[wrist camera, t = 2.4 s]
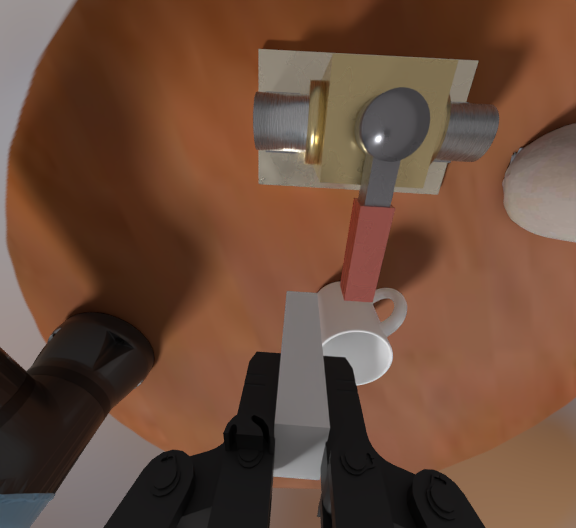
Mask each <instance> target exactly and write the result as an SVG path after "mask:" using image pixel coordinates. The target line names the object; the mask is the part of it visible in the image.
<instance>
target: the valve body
mask: <svg viewBox="0 0 576 528" xmlns="http://www.w3.org/2000/svg"><path fill="white" fill-rule="evenodd" d="M477 65H478V61H477V60H458V59H439V58H421V57H402V56H383V55H364V54H345V53H326V52H307V51H288V50H269V49H259V92H256V94H255V98H254V110H253V128H254V141H255V147H256V149H257V150H259V184H267V185H284V186H301V187H318V188H335V189H352V190H360V185H361V179H362V174H363V168H364V162H365V156H366V154H365V153H364V152H362V151H361V149H360V148H359V146H358V145H357V142H356V139H355V134H354V128H355V122H356V119H357V116H358V114H359V112H360V110H361V109H362V107H363V106H364V105H365V104H366V103H367V102H368V101H369V100H370V99H372V98H374V97H375V96H378V95H380V94H382V93H384V92H386V91H388V90H390V89H394V88H398V87H406V88H411V89H414V90H416V91H417V92H419V93H420V94H421V95H422V96H423V97H424V99H425V100H426V102H427V104H428V107H429V110H430V125H429V130H428V133H427V135H426V137H425V139H424V141H423V143H422V144H421V145H420V147H419V148H418V149H417V150H416V151H415V152H414V153H412V154H411V155H410V156H408V157H406V158H404V159H402V160H401V161H400V166H399V170H398V174H397V179H396V183H395V188H394V192H404V193H421V194H438V192H439V189H440V186H441V183H442V179H443V176H444V173H445V169H446V166H447V163H450V162H451V161H462V162H474V161H476V160H478V159H479V158H481V157H482V156H483V155H484V154H485V153H486V151H487V150H488V149H489V147H490V146H491V144H492V142H493V140H494V138H495V135H496V132H497V129H498V124H499V113H498V110H497V108H496V107H495V106H494V105H491V104H474V103H469V102H466V101H467V97H468V94H469V91H470V88H471V84H472V81H473V78H474V74H475V71H476V68H477Z"/></svg>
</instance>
